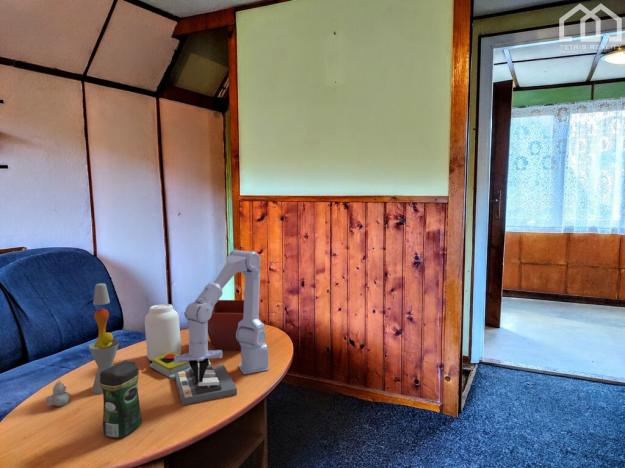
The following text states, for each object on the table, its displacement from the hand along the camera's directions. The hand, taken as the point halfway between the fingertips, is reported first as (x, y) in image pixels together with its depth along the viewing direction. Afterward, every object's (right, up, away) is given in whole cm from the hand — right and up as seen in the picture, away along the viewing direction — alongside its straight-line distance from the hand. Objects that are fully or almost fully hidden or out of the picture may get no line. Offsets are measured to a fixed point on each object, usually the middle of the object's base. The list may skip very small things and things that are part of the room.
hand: (198, 382), depth 135 cm
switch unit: (0, -4, +8) cm, 9 cm away
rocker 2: (0, 0, +7) cm, 7 cm away
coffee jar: (-16, -7, -18) cm, 25 cm away
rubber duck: (-41, -6, -5) cm, 42 cm away
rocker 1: (-3, +1, +13) cm, 13 cm away
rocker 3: (+3, -1, +1) cm, 3 cm away
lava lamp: (-32, -4, +7) cm, 33 cm away
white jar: (-22, -1, +31) cm, 38 cm away
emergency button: (-15, -2, +21) cm, 26 cm away
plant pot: (+2, 0, +44) cm, 45 cm away
